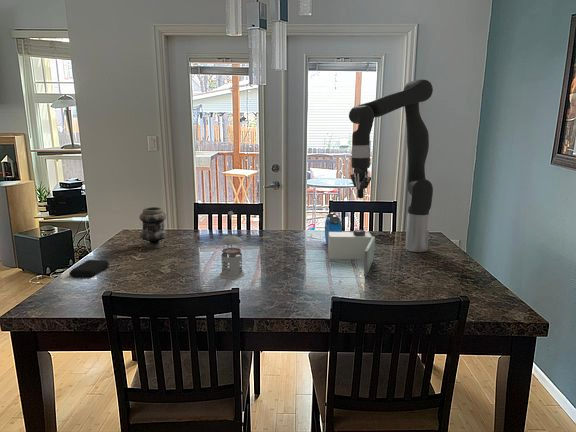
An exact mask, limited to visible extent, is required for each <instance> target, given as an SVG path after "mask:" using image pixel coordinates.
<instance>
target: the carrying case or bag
mask: <svg viewBox="0 0 576 432" xmlns="http://www.w3.org/2000/svg"><path fill="white" fill-rule="evenodd" d="M109 267H110V263H109V261H107V260H106V259H105V260H104V259H87V260H86V261H84V262H83V263H81V264H79V265H78V266H76V267H74V268H72V269H71V270H70V272H69V276H70V277H72V278H83V279H84V278H86V279H87V278H88V279H89V278H92V277H95V276H96V275H97V274H100V273H101V272H102V271H103V270H105V269H106V268H109Z"/></svg>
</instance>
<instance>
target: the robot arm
mask: <svg viewBox="0 0 576 432" xmlns="http://www.w3.org/2000/svg"><path fill="white" fill-rule="evenodd" d="M433 91H434V89H433V85H432V83H431V82H430V81H429V80H428V79H415V80H411V81H407V82H406V83H405V84H404V87H403V90H401V91H398V92H394V93H389V94H387V95H384V96H381V97H378V98H376V99H374V100H372V101H369V102H365V103H360V104H358V105H356V106H354V107H352V108H351V109H350V111H349V112H348V118H349V119H348V120H350V122H351V123H352V124H355V125H358V126H357V129H356V130H354V131H353V132H352V138H351V139H352V140H351V143H352V144H351V145H352V147H351V163H350V164H351V168H352V169H353V173H352V174H350V176H349V177H350V179H351V181H352V185H353V187H354V188H355V189H356V198H357V199H364V194H365V192H364V190H365V189H367V188H368V186H369V184H370V182H371V180H372V177H371V176H369V172H368V169H370V167H371V147H370V146H371V144H370V143H371V141H370V140H371V138H370V137H371V132H372V130H373V129H372V128H373V125H374V120H375V118H379V117H383V116H385V115H387V114H389V113H391V112H394V111H396V110H399V109H400V108H404V113H405V123H406V124H405V125H406V148H407V163H408V171H407V175H408V176H407V192H408V194H409V195H411V201H410V205H409V206H408V207H407V219H406V232H405V233H406V235H405V247H404V248H405V250H406V251H409V252H412V253H423V252H428V246H429V235H430V233H429V232H430V231H429V230H428V228H429V218H430V209H431V207H432V203H433V194H434V188H433V184H432V182H431V181H429V180H428V179H426V173H425V171H426V170H425V166H426V161H427V157H428V154H429V147H430V140H429V139H430V136H429V135H430V134H429V131H428V128H427V126H426V124H425V122H424V120H423V119H422V117H421V114H420V103H423V102H426V101H427V100H429V99H430V98H431V97H432V95H433Z"/></svg>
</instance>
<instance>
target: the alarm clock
mask: <svg viewBox="0 0 576 432" xmlns="http://www.w3.org/2000/svg"><path fill="white" fill-rule="evenodd" d="M329 232H343V226H342V220H341V218H340V217H339V216H338V215H337V214H336V213H335V212H332V211H331V212H329V213H327V215H326V218H325V222H324V238H325V243H326V245H327V246H328V236H329Z"/></svg>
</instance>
